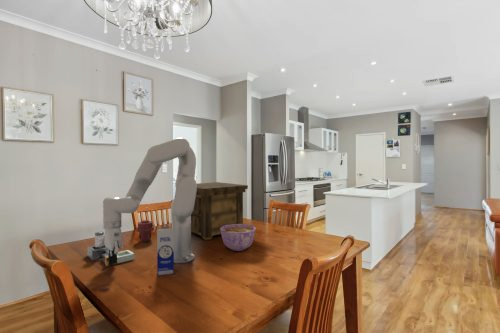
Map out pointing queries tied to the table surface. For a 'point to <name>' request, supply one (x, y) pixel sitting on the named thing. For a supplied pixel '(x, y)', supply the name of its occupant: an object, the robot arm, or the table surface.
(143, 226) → the dark red pot
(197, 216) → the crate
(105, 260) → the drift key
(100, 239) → the grey peg
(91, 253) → the socket block
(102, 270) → the table surface
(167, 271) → the milk carton
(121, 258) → the pale green tray
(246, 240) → the bowl of food
